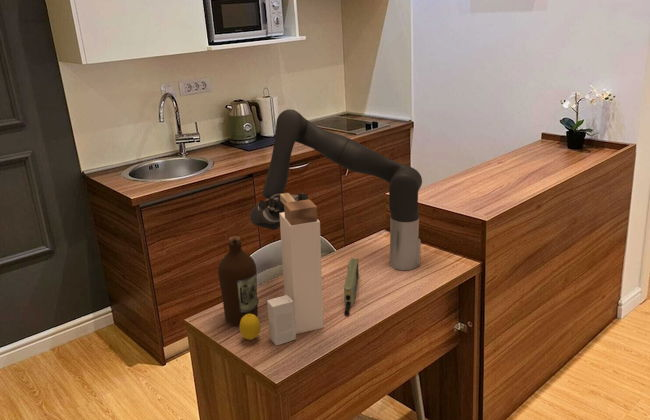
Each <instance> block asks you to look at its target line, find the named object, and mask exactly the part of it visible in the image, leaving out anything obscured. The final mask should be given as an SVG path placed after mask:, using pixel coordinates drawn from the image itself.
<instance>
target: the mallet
mask: <svg viewBox="0 0 650 420" xmlns="http://www.w3.org/2000/svg"><path fill="white" fill-rule="evenodd" d="M291 195H292V194H290V193H289V192H284V193H283V194H280V201H281V202H282V203H283V204H284V211H285V218H286V219H287V221H288V222H289V223H290V224H291V225H297V224H304V223H310V222H316V221H317V219H318V206H317V205H316V204H315V203H314V202H313V201H312V200H311V199H309V198H308V200H301V201H295V200H294V199H293V198H292V196H291Z"/></svg>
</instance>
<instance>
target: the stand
mask: <svg viewBox="0 0 650 420" xmlns="http://www.w3.org/2000/svg"><path fill="white" fill-rule="evenodd" d="M279 214H280V227H279V229H280V242H281V243H280V244H281V245H280V246H281V260H282V261H281V263H282V264H281V265H282V277H283V278H282V279H283V281H282V282H283V294H284V295H288V296H289V297H290V298H291V299H292V300H293V303H294V318H295V333H296V335H297V334H302V333H306V332H311V331H315V330H319V329H320V330H321V329H324V314H323V313H324V309H323V280H322V279H323V277H322V276H323V275H322V274H323V273H322V251H321V250H322V247H321V246H322V245H321V241H322V240H321V222H320V220H319V219H318V218H317V221H316V222H310V223H304V224H297V225H291V224H290V223H289V222H288V221H287V219H286V218H285V212H282V213H279ZM284 295H283V296H284Z"/></svg>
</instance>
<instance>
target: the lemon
mask: <svg viewBox="0 0 650 420" xmlns="http://www.w3.org/2000/svg"><path fill="white" fill-rule="evenodd" d="M239 332H240V334H241V336H242V337H243V338H244V339H246V340H250V341H252V340H253V339H255V338H257V337H258V336H259V334H260V333H261V321H260V320H259V318H258V317H256V316H255V315H253V314H246V315H245V316H243V317H242V319H241V321H240V326H239Z"/></svg>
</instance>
